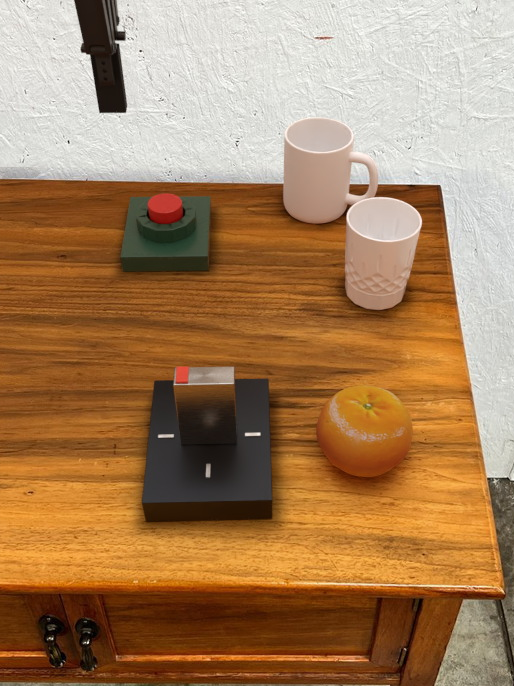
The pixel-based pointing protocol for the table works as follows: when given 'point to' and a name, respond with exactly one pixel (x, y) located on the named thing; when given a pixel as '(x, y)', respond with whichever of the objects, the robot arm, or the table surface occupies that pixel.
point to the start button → (165, 208)
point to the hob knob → (206, 404)
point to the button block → (167, 238)
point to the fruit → (364, 430)
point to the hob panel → (209, 463)
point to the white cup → (380, 251)
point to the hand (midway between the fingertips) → (113, 109)
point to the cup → (321, 169)
